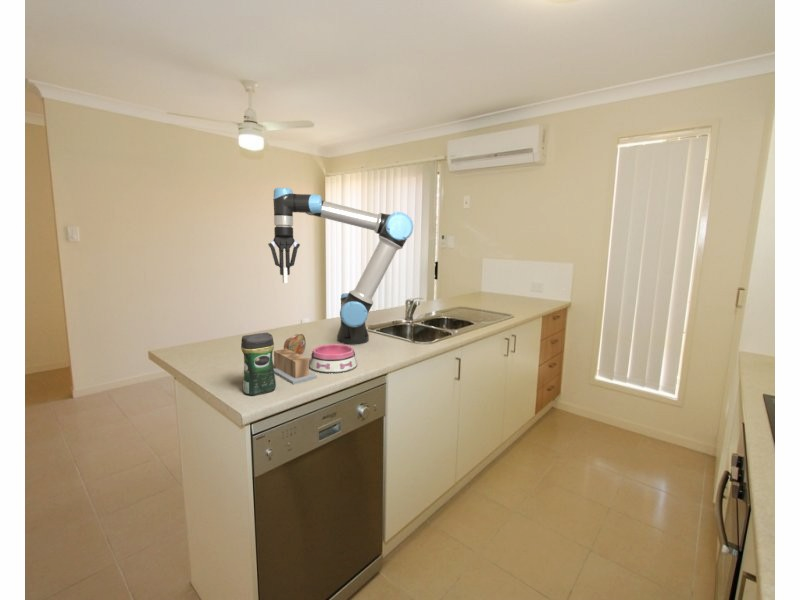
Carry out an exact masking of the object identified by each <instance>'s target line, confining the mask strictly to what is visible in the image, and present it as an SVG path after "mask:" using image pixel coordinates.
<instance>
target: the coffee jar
mask: <svg viewBox="0 0 800 600" xmlns="http://www.w3.org/2000/svg"><path fill="white" fill-rule="evenodd" d="M240 345H241V346H240V347H241V349H240V350H241V352H242V354H243V361H244V362H243V381H242V390H243V392H244V393H245V394H246V395H249V396H257V395H258V396H259V395H262V394H265V393H269V392H273V391H274V390H275V389H276V388H277V387H276V386H277V384H276V376H275V375H276V374H274V369H275V368H274V364H273V363H274V359H273V353H274V347H275V342H274V337H273V335H272V334H271V333H270V332H262V333H261V332H260V333H259V332H258V333H252V334H247V335H242V336H241V343H240Z"/></svg>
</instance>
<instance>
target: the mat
mask: <svg viewBox="0 0 800 600" xmlns="http://www.w3.org/2000/svg"><path fill="white" fill-rule="evenodd" d="M273 369H274V375H276V376H278V377H280V378H281V379H282V380H284V381H287V382H289V383H290V384H292V385H296V384H301V383H305V382H308V381H311V380H315V379H317V378H318V375H317V374H315V373H312V372H311V371H309V375H308V376H304V377H300V378H296V379H295V378H294V377H292V376H290V375H288V374H287V373H285V372H283V371H281V370H279V369H278V368H276V367H274V368H273Z"/></svg>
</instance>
